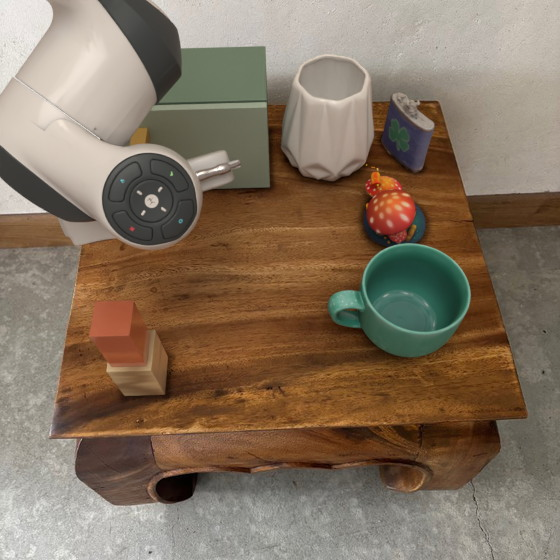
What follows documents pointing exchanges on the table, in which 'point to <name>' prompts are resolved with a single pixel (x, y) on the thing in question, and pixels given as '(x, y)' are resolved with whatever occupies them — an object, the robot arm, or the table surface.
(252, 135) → the door
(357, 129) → the vase
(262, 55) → the cupboard
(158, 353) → the stand
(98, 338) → the block
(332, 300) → the mug
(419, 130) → the flask
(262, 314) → the table surface
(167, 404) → the table surface
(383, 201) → the figurine
